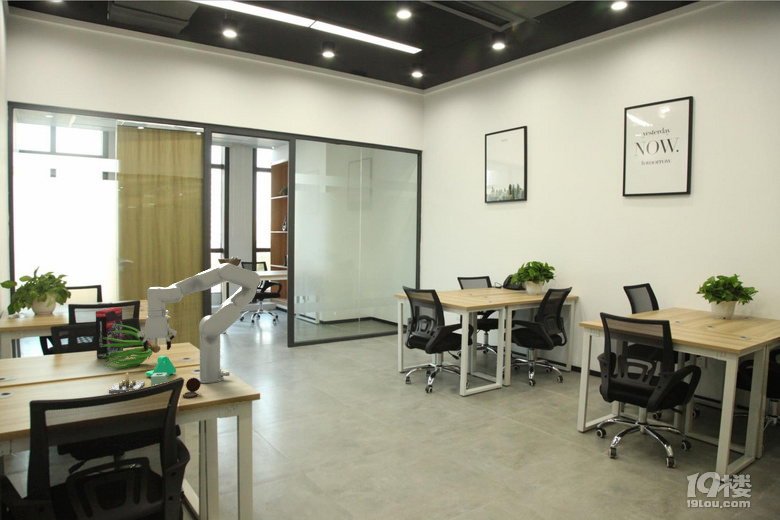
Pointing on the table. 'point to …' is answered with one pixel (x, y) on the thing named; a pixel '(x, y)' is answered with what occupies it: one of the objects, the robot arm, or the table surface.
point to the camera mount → (163, 367)
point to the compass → (192, 388)
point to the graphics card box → (108, 331)
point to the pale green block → (158, 378)
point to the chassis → (126, 385)
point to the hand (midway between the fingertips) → (157, 349)
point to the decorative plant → (130, 350)
